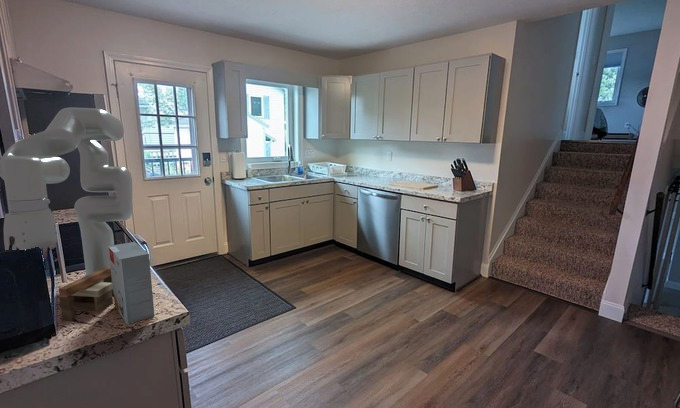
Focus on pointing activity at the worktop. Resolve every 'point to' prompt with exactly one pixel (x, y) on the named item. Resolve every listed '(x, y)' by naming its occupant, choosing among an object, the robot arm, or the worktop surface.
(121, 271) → the hard drive box
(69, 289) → the bar
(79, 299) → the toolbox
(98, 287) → the lid
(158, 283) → the worktop surface
